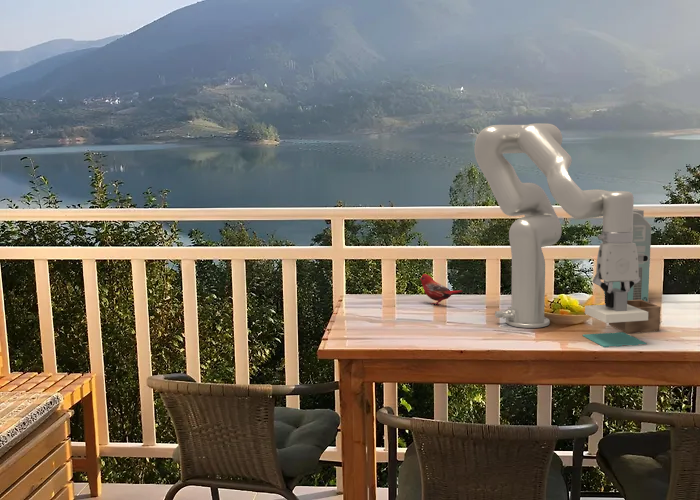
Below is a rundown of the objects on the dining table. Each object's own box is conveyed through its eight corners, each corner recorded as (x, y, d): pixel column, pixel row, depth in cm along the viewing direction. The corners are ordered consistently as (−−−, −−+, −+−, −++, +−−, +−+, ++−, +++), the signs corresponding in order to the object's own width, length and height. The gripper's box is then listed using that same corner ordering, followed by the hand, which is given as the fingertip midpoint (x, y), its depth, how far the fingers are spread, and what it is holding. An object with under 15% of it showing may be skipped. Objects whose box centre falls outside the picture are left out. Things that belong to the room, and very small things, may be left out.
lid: (606, 323, 202) (606, 295, 202) (584, 313, 214) (585, 287, 213) (648, 320, 204) (648, 293, 203) (624, 311, 216) (625, 285, 215)
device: (648, 303, 255) (652, 212, 250) (625, 304, 254) (629, 212, 249) (625, 293, 271) (628, 207, 266) (603, 294, 270) (606, 208, 266)
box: (626, 333, 217) (627, 308, 216) (608, 324, 227) (609, 301, 226) (659, 331, 219) (660, 306, 218) (640, 323, 229) (641, 299, 228)
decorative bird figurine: (422, 301, 263) (422, 272, 261) (465, 309, 251) (465, 278, 249) (416, 303, 261) (416, 273, 259) (460, 310, 249) (460, 279, 247)
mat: (603, 347, 204) (603, 345, 204) (582, 335, 215) (582, 334, 215) (646, 344, 206) (646, 343, 206) (623, 333, 217) (623, 332, 217)
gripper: (595, 241, 201) (594, 311, 204) (653, 238, 204) (651, 307, 207) (581, 237, 209) (580, 305, 211) (638, 235, 211) (636, 302, 214)
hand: (615, 305), depth 209 cm, fingers closed on lid, 3 cm apart
